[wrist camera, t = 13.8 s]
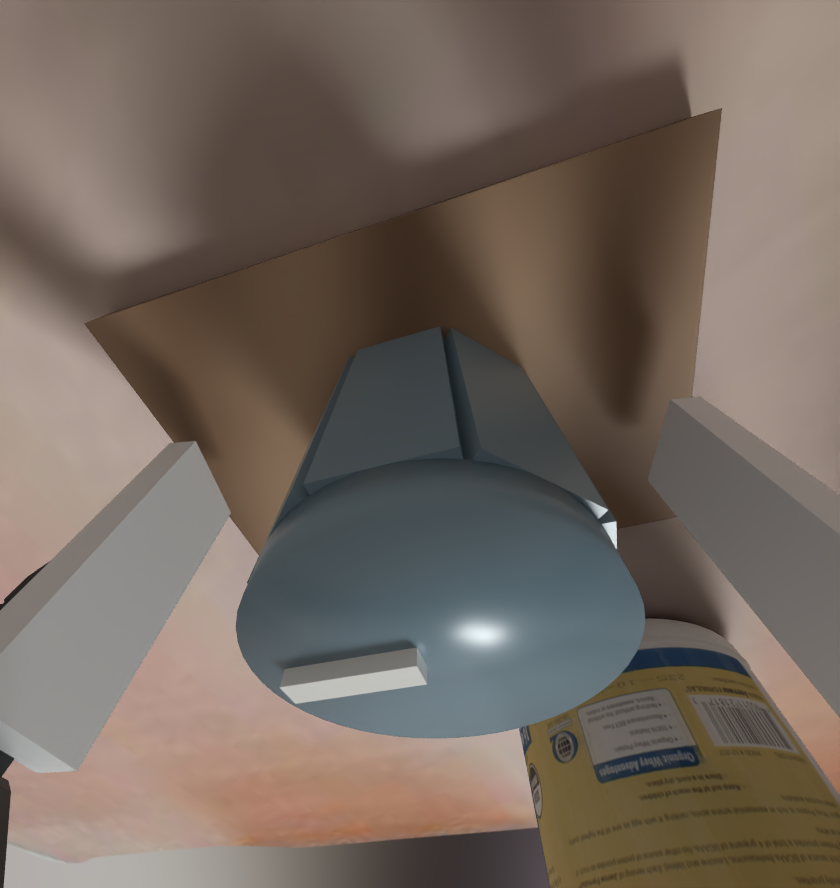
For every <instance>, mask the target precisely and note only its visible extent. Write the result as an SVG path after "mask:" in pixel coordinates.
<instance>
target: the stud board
mask: <svg viewBox="0 0 840 888" xmlns="http://www.w3.org/2000/svg"><path fill="white" fill-rule="evenodd" d="M721 111H722V108H721V109H717V110H714V111H711V112H707V113H704V114H700V115H697V116H694V117H691V118H688V119H685V120H682V121H679V122H676V123H673V124H670V125H667V126H664V127H661V128H658V129H655V130H652V131H649V132H646V133H643V134H640V135H637V136H634V137H632V138H629V139H626V140H623V141H620V142H617V143H614V144H611V145H608V146H605V147H602V148H599V149H596V150H593V151H590V152H587V153H584V154H581V155H578V156H575V157H572V158H569V159H566V160H563V161H561V162H558V163H555V164H552V165H549V166H546V167H543V168H540V169H537V170H534V171H531V172H528V173H525V174H522V175H519V176H516V177H513V178H510V179H507V180H504V181H501V182H498V183H495V184H493V185H490V186H487V187H484V188H481V189H478V190H475V191H472V192H469V193H466V194H463V195H460V196H457V197H454V198H451V199H448V200H445V201H442V202H439V203H436V204H433V205H430V206H427V207H424V208H422V209H419V210H416V211H413V212H410V213H407V214H404V215H401V216H398V217H395V218H392V219H389V220H386V221H383V222H380V223H377V224H374V225H371V226H368V227H365V228H362V229H359V230H356V231H354V232H351V233H348V234H345V235H342V236H339V237H336V238H333V239H330V240H327V241H324V242H321V243H318V244H315V245H312V246H309V247H306V248H303V249H300V250H297V251H294V252H291V253H288V254H286V255H283V256H280V257H277V258H274V259H271V260H268V261H265V262H262V263H259V264H256V265H253V266H250V267H247V268H244V269H241V270H238V271H235V272H232V273H229V274H226V275H223V276H220V277H217V278H215V279H212V280H209V281H206V282H203V283H200V284H197V285H194V286H191V287H188V288H185V289H182V290H179V291H176V292H173V293H170V294H167V295H164V296H161V297H158V298H155V299H152V300H149V301H147V302H144V303H141V304H138V305H135V306H132V307H129V308H126V309H123V310H120V311H117V312H114V313H111V314H108V315H106V316H103V317H100V318H98V319H95V320H92V321H90V322H87V323H84V324H85V325H86V326H87V328H88V329H89V330H90V332H91V333H92V334H93V336H94V337H95V338H96V340H97V341H98V342H99V344H100V345H101V346H102V348H103V349H104V350H105V352H106V353H107V354H108V356H109V357H110V358H111V360H112V361H113V362H114V364H115V365H116V366H117V368H118V369H119V370H120V372H121V373H122V374H123V376H124V377H125V378H126V380H127V381H128V382H129V384H130V385H131V386H132V388H133V389H134V390H135V391H136V393H137V394H138V395H139V397H140V398H141V399H142V401H143V402H144V403H145V405H146V406H147V407H148V409H149V410H150V411H151V413H152V414H153V415H154V417H155V418H156V419H157V421H158V422H159V423H160V425H161V426H162V427H163V429H164V430H165V431H166V433H167V434H168V435H169V437H170V438H171V439H172V441H173V442H174V443H178V442H190V441H196V443H197V445H198V447H199V449H200V451H201V453H202V455H203V457H204V459H205V461H206V463H207V465H208V467H209V469H210V471H211V473H212V475H213V477H214V479H215V481H216V483H217V485H218V487H219V489H220V491H221V494H222V496H223V498H224V500H225V502H226V504H227V506H228V508H229V510H230V512H231V514H230V515H229V516H230V518H231V519H232V520H233V522H234V523H235V524H236V526H237V527H238V528H239V530H240V531H241V532H242V534H243V535H244V536H245V538H246V539H247V540H248V542H249V543H250V544H251V546H252V547H253V548H254V550H255V551H256V552H257V554H258V555H260V553H261V550H262V548H263V546H264V544H265V541H266V539H267V537H268V535H269V532H270V530H271V528H272V526H273V523H274V521H275V519H276V517H277V514H278V512H279V510H280V508H281V505H282V503H283V501H284V499H285V497H286V494H287V492H288V490H289V488H290V485H291V483H292V481H293V479H294V476H295V474H296V472H297V470H298V467H299V465H300V463H301V461H302V458H303V456H304V454H305V452H306V449H307V447H308V445H309V443H310V440H311V438H312V436H313V434H314V431H315V429H316V427H317V425H318V423H319V420H320V418H321V416H322V414H323V412H324V410H325V408H326V405H327V403H328V401H329V399H330V397H331V395H332V393H333V391H334V388H335V386H336V384H337V382H338V380H339V378H340V376H341V373H342V371H343V369H344V367H345V365H346V363H347V361H348V359H349V357H351V358H353V359H354V357H355V354H356V352H357V350H359V349H363V348H366V347H370V346H373V345H377V344H380V343H384V342H387V341H390V340H394V339H397V338H401V337H404V336H408V335H411V334H415V333H418V332H422V331H425V330H429V329H432V328H435V327H439V326H440V328H441V332H442V336H443V340H444V339H445V337H446V335H447V334H448V332H449V330H450V329H451V328H453V329H455V330H456V331H458V332H460V333H462V334H464V335H465V336H467V337H469V338H471V339H472V340H474V341H476V342H478V343H479V344H481V345H483V346H485V347H486V348H488V349H490V350H492V351H493V352H495V353H497V354H499V355H500V356H502V357H504V358H506V359H508V360H509V361H511V362H513V363H515V364H516V365H518V366H520V367H522V368H523V370H524V372H525V373H526V375H527V376H528V377H529V379H530V380H531V382H532V384H533V385H534V387H535V389H536V390H537V392H538V394H539V395H540V397H541V398H542V400H543V402H544V403H545V405H546V407H547V408H548V410H549V412H550V413H551V415H552V416H553V418H554V420H555V421H556V423H557V425H558V426H559V428H560V430H561V431H562V433H563V434H564V436H565V438H566V439H567V441H568V443H569V444H570V446H571V448H572V449H573V451H574V452H575V454H576V456H577V457H578V459H579V461H580V462H581V464H582V466H583V467H584V469H585V470H586V472H587V474H588V475H589V477H590V479H591V480H592V482H593V484H594V485H595V487H596V488H597V490H598V492H599V493H600V495H601V497H602V498H603V500H604V502H605V503H606V505H607V506H608V508H609V510H610V511H611V513H612V515H613V516H614V518H615V520H616V523H617V529H618V528H623V527H628V526H633V525H638V524H643V523H649V522H654V521H659V520H664V519H669V518H674V517H677V516H676V515H675V514H674V512H673V511H672V510H671V509H670V507H669V506H668V505H667V504H666V502H665V501H664V500H663V499H662V498H661V496H660V495H659V494H658V493H657V491H656V490H655V489H654V488H653V486H652V485H651V484H650V483H649V481H648V477H649V473H650V470H651V466H652V463H653V459H654V456H655V452H656V448H657V445H658V441H659V438H660V434H661V430H662V427H663V423H664V420H665V416H666V413H667V409H668V405H669V402H670V399H677V398H688V397H692V391H693V381H694V372H695V362H696V352H697V343H698V333H699V323H700V314H701V304H702V294H703V285H704V275H705V266H706V256H707V246H708V237H709V227H710V217H711V208H712V198H713V188H714V179H715V169H716V159H717V150H718V140H719V130H720V121H721Z"/></svg>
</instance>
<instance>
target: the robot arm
mask: <svg viewBox="0 0 840 888" xmlns="http://www.w3.org/2000/svg"><path fill="white" fill-rule="evenodd" d="M648 481H649V483H650V484H651V485H652V486H653V488H654V489H655V490H656V491H657V493H658V494H659V495H660V496H661V498H662V499H663V500H664V501H665V502H666V504H667V505H668V506H669V507H670V509H671V510H672V511H673V512H674V514H675V515H676V516H677V517H678V519H679V520H680V521H681V522H682V523H683V525H684V526H685V527H686V528H687V530H688V531H689V532H690V533H691V535H692V536H693V537H694V538H695V540H696V541H697V542H698V543H699V544H700V546H701V547H702V548H703V549H704V551H705V552H706V553H707V554H708V556H709V557H710V558H711V559H712V561H713V562H714V563H715V564H716V565H717V567H718V568H719V569H720V570H721V572H722V573H723V574H724V575H725V577H726V578H727V579H728V580H729V582H730V583H731V584H732V585H733V586H734V588H735V589H736V590H737V591H738V593H739V594H740V595H741V596H742V598H743V599H744V600H745V601H746V603H747V604H748V605H749V606H750V607H751V609H752V610H753V611H754V612H755V614H756V615H757V616H758V617H759V619H760V620H761V621H762V622H763V624H764V625H765V626H766V627H767V628H768V630H769V631H770V632H771V633H772V635H773V636H774V637H775V638H776V640H777V641H778V642H779V643H780V645H781V646H782V647H783V648H784V649H785V651H786V652H787V653H788V654H789V656H790V657H791V658H792V659H793V661H794V662H795V663H796V664H797V666H798V667H799V668H800V669H801V670H802V672H803V673H804V674H805V675H806V677H807V678H808V679H809V680H810V682H811V683H812V684H813V685H814V687H815V688H816V689H817V690H818V691H819V693H820V694H821V695H822V696H823V698H824V699H825V700H826V701H827V703H828V704H829V705H830V706H831V708H832V709H833V710H834V711H835V712H836V714H837V715H838V716H839V717H840V495H838V494H837V493H836V492H834V491H833V490H831V489H830V488H829V487H827V486H826V485H824V484H823V483H822V482H820V481H819V480H817V479H816V478H814V477H813V476H812V475H810V474H809V473H807V472H806V471H805V470H803V469H802V468H800V467H799V466H797V465H796V464H795V463H793V462H792V461H790V460H789V459H788V458H786V457H785V456H783V455H782V454H781V453H779V452H778V451H776V450H775V449H773V448H772V447H771V446H769V445H768V444H766V443H765V442H764V441H762V440H761V439H759V438H758V437H756V436H755V435H754V434H752V433H751V432H749V431H748V430H747V429H745V428H744V427H742V426H741V425H740V424H738V423H737V422H735V421H734V420H732V419H731V418H730V417H728V416H727V415H725V414H724V413H723V412H721V411H720V410H718V409H717V408H715V407H714V406H713V405H711V404H710V403H708V402H707V401H706V400H704V399H703V398H701V397H688V398H677V399H670V402H669V405H668V409H667V413H666V416H665V420H664V423H663V427H662V430H661V434H660V438H659V441H658V445H657V448H656V452H655V456H654V459H653V463H652V466H651V470H650V473H649V477H648ZM230 514H231V512H230V510H229V508H228V506H227V504H226V502H225V500H224V498H223V496H222V494H221V491H220V489H219V487H218V485H217V483H216V481H215V479H214V477H213V475H212V473H211V471H210V469H209V467H208V465H207V463H206V461H205V459H204V457H203V455H202V453H201V451H200V449H199V447H198V445H197V443H196V441H190V442H178V443H170V444H169V445H168V446H167V447H166V448H164V449H163V450H162V451H161V452H160V453H159V454H158V455H157V456H156V457H155V458H154V459H153V460H152V461H151V462H150V463H149V464H148V465H147V466H146V467H145V468H144V469H143V470H142V471H141V472H140V473H139V474H138V475H137V476H136V477H135V478H134V479H133V480H132V481H131V482H130V483H129V484H128V485H127V486H126V487H125V488H124V489H123V490H122V491H121V492H120V493H119V494H118V495H117V496H116V497H115V498H114V499H113V500H112V501H111V502H110V503H109V504H108V505H107V506H106V507H105V508H104V509H103V510H102V511H101V512H100V513H99V514H98V515H97V516H96V517H95V518H94V519H93V520H92V521H91V522H89V523H88V524H87V525H86V526H85V527H84V528H83V529H82V530H81V531H80V532H79V533H78V534H77V535H76V536H75V537H74V538H73V539H72V540H71V541H70V542H69V543H68V544H67V545H66V546H65V547H64V548H63V549H62V550H61V551H60V552H59V553H58V554H57V555H56V556H55V557H54V558H53V559H52V560H51V561H50V562H48V563H47V564H45V565H44V566H42V567H41V568H39V569H38V570H37V571H35V572H34V573H32V574H31V575H29V576H28V577H27V578H26V579H25V580H24V581H23V582H22V583H21V584H20V585H19V586H17V587H16V588H15V589H14V590H13V591H12V592H11V593H10V594H9V595H8V596H7V597H6V598H5V599H4V603H3V604H0V888H3V885H4V874H5V861H6V847H7V834H8V821H9V808H10V795H11V790H10V786H9V781H8V780H6V779H4V778H2V775H3V774H4V773H5V771H6V770H7V768H8V767H9V766H10V764H11V763H12V761H13V760H16V761H17V762H19V763H21V764H22V765H24V766H26V767H27V768H29V769H31V770H32V771H34V772H36V773H44V772H67V771H77V770H78V769H79V767H80V765H81V764H82V762H83V760H84V759H85V757H86V755H87V754H88V752H89V750H90V749H91V747H92V745H93V744H94V742H95V740H96V738H97V737H98V735H99V733H100V732H101V730H102V728H103V727H104V725H105V723H106V722H107V720H108V718H109V717H110V715H111V713H112V712H113V710H114V708H115V707H116V705H117V703H118V702H119V700H120V698H121V697H122V695H123V693H124V691H125V690H126V688H127V686H128V685H129V683H130V681H131V680H132V678H133V676H134V675H135V673H136V671H137V670H138V668H139V666H140V665H141V663H142V661H143V660H144V658H145V656H146V655H147V653H148V651H149V650H150V648H151V646H152V644H153V643H154V641H155V639H156V638H157V636H158V634H159V633H160V631H161V629H162V628H163V626H164V624H165V623H166V621H167V619H168V618H169V616H170V614H171V613H172V611H173V609H174V608H175V606H176V604H177V603H178V601H179V599H180V598H181V596H182V594H183V592H184V591H185V589H186V587H187V586H188V584H189V582H190V581H191V579H192V577H193V576H194V574H195V572H196V571H197V569H198V567H199V566H200V564H201V562H202V561H203V559H204V557H205V556H206V554H207V552H208V551H209V549H210V547H211V545H212V544H213V542H214V540H215V539H216V537H217V535H218V534H219V532H220V530H221V529H222V527H223V525H224V524H225V522H226V520H227V519H228V517H229V515H230Z"/></svg>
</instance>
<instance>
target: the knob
mask: <svg viewBox="0 0 840 888" xmlns="http://www.w3.org/2000/svg"><path fill="white" fill-rule="evenodd" d="M247 583H248V585H247V587H246V589H245V592H244V594H243V597H242V600H241V602H240V605H239V608H238V611H237V620H236V632H237V639H238V644H239V647H240V649H241V652H242V655H243V657H244V659H245V660H246V662H247V664H248V665H249V667H250V668H251V670H252V671H253V672H254V674H255V675H256V676H257V677H258V678H259V679H260V680H261V682H262V683H264V684H265V685H266V686H267V687H268V688H269V689H270V690H272V691H273V692H274V693H275V694H277V695H278V696H280V697H281V698H282V699H284V700H285V701H287V702H288V703H290V704H292V705H294V706H296V707H297V708H299V709H301V710H303V711H305V712H307V713H309V714H312V715H314V716H316V717H319V718H321V719H323V720H326V721H329V722H332V723H335V724H338V725H341V726H345V727H349V728H353V729H356V730H361V731H366V732H371V733H376V734H383V735H390V736H398V737H411V738H459V737H469V736H479V735H485V734H492V733H498V732H503V731H508V730H512V729H517V728H521V727H524V726H528V725H531V724H535V723H538V722H541V721H543V720H546V719H549V718H552V717H555V716H557V715H559V714H561V713H564V712H566V711H568V710H570V709H572V708H574V707H576V706H578V705H580V704H582V703H583V702H585V701H587V700H589V699H590V698H592V697H593V696H595V695H596V694H598V693H599V692H600V691H602V690H603V689H605V688H606V687H607V686H608V685H609V684H610V683H612V682H613V681H614V680H615V679H616V678H617V677H618V676H619V675H620V674H621V673H622V672H623V670H624V669H625V668H626V667H627V666H628V665H629V663H630V661H631V660H632V658H633V657H634V655H635V654H636V652H637V650H638V647H639V645H640V642H641V640H642V637H643V632H644V626H645V611H644V603H643V600H642V597H641V594H640V591H639V588H638V587H637V585H636V583H635V581H634V580H633V578H632V576H631V574H630V572H629V571H628V569H627V567H626V565H625V564H624V562H623V560H622V558H621V556H620V555H619V553H618V551H617V523H616V520H615V518H614V516H613V515H612V513H611V511H610V510H609V508H608V506H607V505H606V503H605V502H604V500H603V498H602V497H601V495H600V493H599V492H598V490H597V488H596V487H595V485H594V484H593V482H592V480H591V479H590V477H589V475H588V474H587V472H586V470H585V469H584V467H583V466H582V464H581V462H580V461H579V459H578V457H577V456H576V454H575V452H574V451H573V449H572V448H571V446H570V444H569V443H568V441H567V439H566V438H565V436H564V434H563V433H562V431H561V430H560V428H559V426H558V425H557V423H556V421H555V420H554V418H553V416H552V415H551V413H550V412H549V410H548V408H547V407H546V405H545V403H544V402H543V400H542V398H541V397H540V395H539V394H538V392H537V390H536V389H535V387H534V385H533V384H532V382H531V380H530V379H529V377H528V376H527V375H526V373H525V372H524V370H523V368H522V367H520V366H518V365H516V364H515V363H513V362H511V361H509V360H508V359H506V358H504V357H502V356H500V355H499V354H497V353H495V352H493V351H492V350H490V349H488V348H486V347H485V346H483V345H481V344H479V343H478V342H476V341H474V340H472V339H471V338H469V337H467V336H465V335H464V334H462V333H460V332H458V331H456V330H455V329H453V328H451V329H450V330H449V332H448V334H447V335H446V337H445V339H444V340H443V336H442V332H441V328H440V326H439V327H435V328H432V329H429V330H425V331H422V332H418V333H415V334H411V335H408V336H404V337H401V338H397V339H394V340H390V341H387V342H384V343H380V344H377V345H373V346H370V347H366V348H363V349H359V350H357V352H356V354H355V357H354V359H353V358H351V357H349V359H348V361H347V363H346V365H345V367H344V369H343V371H342V373H341V376H340V378H339V380H338V382H337V384H336V386H335V388H334V391H333V393H332V395H331V397H330V399H329V401H328V403H327V405H326V408H325V410H324V412H323V414H322V416H321V418H320V420H319V423H318V425H317V427H316V429H315V431H314V434H313V436H312V438H311V440H310V443H309V445H308V447H307V449H306V452H305V454H304V456H303V458H302V461H301V463H300V465H299V467H298V470H297V472H296V474H295V476H294V479H293V481H292V483H291V485H290V488H289V490H288V492H287V494H286V497H285V499H284V501H283V503H282V505H281V508H280V510H279V512H278V514H277V517H276V519H275V521H274V523H273V526H272V528H271V530H270V532H269V535H268V537H267V539H266V541H265V544H264V546H263V548H262V550H261V553H260V555H259V557H258V559H257V562H256V564H255V566H254V568H253V571H252V573H251V575H250V577H249V579H248V582H247Z"/></svg>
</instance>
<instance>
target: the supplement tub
mask: <svg viewBox="0 0 840 888" xmlns="http://www.w3.org/2000/svg"><path fill="white" fill-rule="evenodd" d="M519 730H520V735H521V740H522V745H523V751H524V756H525V761H526V766H527V771H528V776H529V781H530V786H531V792H532V797H533V803H534V808H535V813H536V818H537V824H538V829H539V834H540V839H541V844H542V849H543V854H544V860H545V865H546V870H547V875H548V880H549V886H550V888H840V795H839V793H838V792H837V791H836V789H835V788H834V786H833V785H832V783H831V782H830V781H829V779H828V778H827V776H826V775H825V774H824V772H823V771H822V769H821V768H820V766H819V765H818V764H817V762H816V761H815V759H814V758H813V756H812V755H811V754H810V752H809V751H808V749H807V748H806V747H805V745H804V744H803V742H802V741H801V739H800V738H799V737H798V735H797V734H796V732H795V731H794V730H793V728H792V727H791V725H790V724H789V722H788V721H787V720H786V718H785V717H784V715H783V714H782V713H781V711H780V710H779V708H778V707H777V706H776V704H775V703H774V701H773V700H772V699H771V697H770V696H769V694H768V693H767V691H766V690H765V689H764V687H763V686H762V684H761V683H760V682H759V680H758V679H757V677H756V676H755V675H754V673H753V672H752V670H751V668H750V666H749V664H748V663H747V661H746V660H745V659H744V658H743V657H742V656H741V655H740V654H739V652H738V651H737V650H736V649H735V648H734V647H733V645H731V644H730V643H729V642H728V641H727V640H726V639H725V638H723V637H722V636H720V635H718V634H717V633H715V632H713V631H711V630H709V629H706V628H704V627H701V626H698V625H695V624H691V623H687V622H682V621H677V620H668V619H652V618H645V626H644V632H643V637H642V640H641V642H640V645H639V647H638V650H637V652H636V654H635V655H634V657H633V658H632V660H631V661H630V663H629V665H628V666H627V667H626V668H625V669H624V670H623V672H622V673H621V674H620V675H619V676H618V677H617V678H616V679H615V680H614V681H613V682H612V683H610V684H609V685H608V686H607V687H606V688H605V689H603V690H602V691H600V692H599V693H598V694H596V695H595V696H593V697H592V698H590V699H589V700H587V701H585V702H583V703H582V704H580V705H578V706H576V707H574V708H572V709H570V710H568V711H566V712H564V713H561V714H559V715H557V716H555V717H552V718H549V719H546V720H543V721H541V722H538V723H535V724H531V725H528V726H524V727H521V728H519Z"/></svg>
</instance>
